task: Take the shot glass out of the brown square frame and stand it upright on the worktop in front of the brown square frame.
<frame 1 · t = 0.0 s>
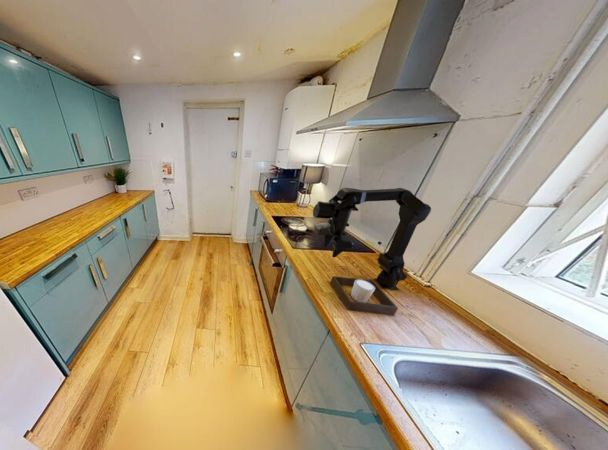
hand: (329, 251, 88), 15 cm above the counter, tool pointing down, fingers open, 9 cm apart
brown square frame: (358, 297, 82), on the counter
shot glass: (358, 298, 83), resting in brown square frame
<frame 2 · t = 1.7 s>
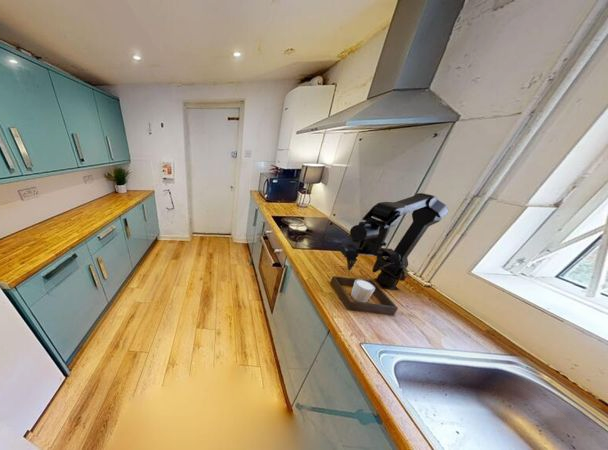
hand: (360, 270, 80), 12 cm above the counter, tool pointing down, fingers open, 9 cm apart
nothing on the counter moved.
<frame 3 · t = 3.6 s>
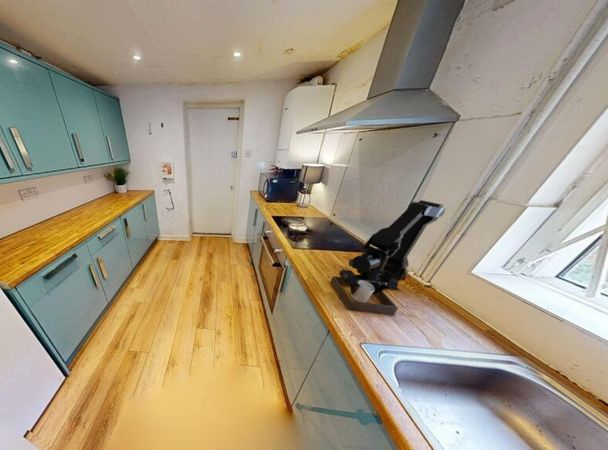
hand: (360, 294, 82), 2 cm above the counter, tool pointing down, fingers closed on shot glass, 6 cm apart
shot glass: (358, 298, 83), resting in brown square frame, touching gripper
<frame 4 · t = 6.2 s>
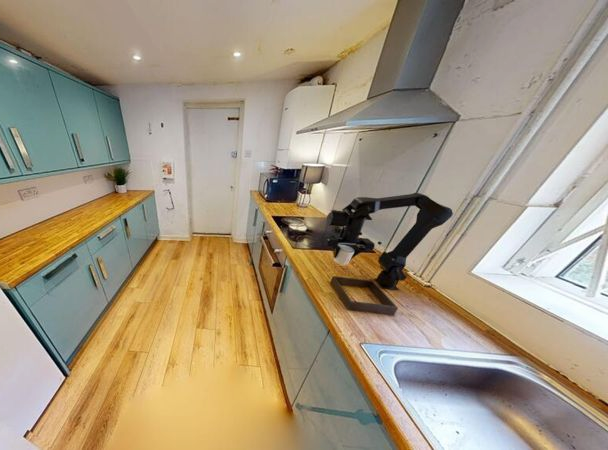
hand: (342, 258, 90), 11 cm above the counter, tool pointing down, fingers closed on shot glass, 6 cm apart
shot glass: (340, 261, 91), point 9 cm above the counter, touching gripper
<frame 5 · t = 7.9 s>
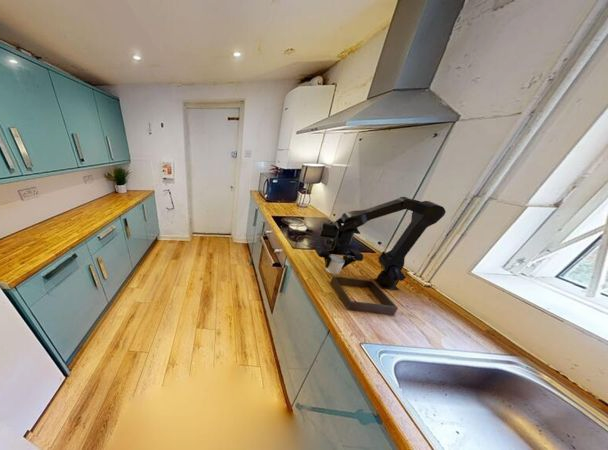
hand: (333, 268, 95), 3 cm above the counter, tool pointing down, fingers closed on shot glass, 6 cm apart
shot glass: (332, 271, 96), point 2 cm above the counter, touching gripper
when the fingers open (1 cm above the counter, at t = 9.0 s): shot glass stays where it is, on the counter.
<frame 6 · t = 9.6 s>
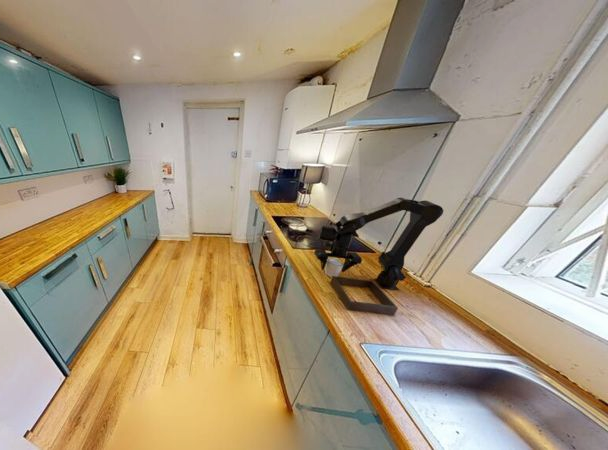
hand: (332, 270, 96), 2 cm above the counter, tool pointing down, fingers open, 9 cm apart
shot glass: (331, 274, 97), on the counter
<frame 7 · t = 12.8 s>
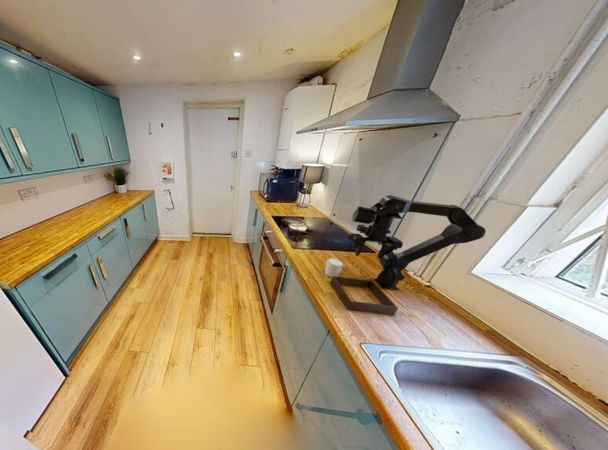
hand: (367, 256, 89), 12 cm above the counter, tool pointing down, fingers open, 9 cm apart
nothing on the counter moved.
at the end: shot glass inside the target area (0.1 cm from its centre), on the counter; shot glass tilted 0°; the gripper is holding nothing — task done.
